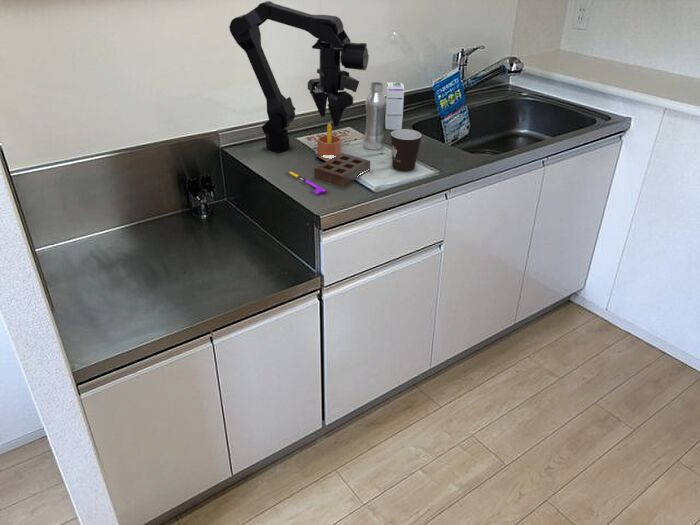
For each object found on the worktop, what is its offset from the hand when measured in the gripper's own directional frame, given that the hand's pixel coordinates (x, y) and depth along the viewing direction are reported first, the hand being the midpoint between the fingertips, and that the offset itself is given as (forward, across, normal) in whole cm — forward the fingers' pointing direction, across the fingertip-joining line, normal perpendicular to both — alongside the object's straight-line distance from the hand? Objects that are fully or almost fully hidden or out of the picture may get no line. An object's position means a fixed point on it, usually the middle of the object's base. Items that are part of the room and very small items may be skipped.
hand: (329, 121), depth 163 cm
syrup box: (+11, +16, -31) cm, 37 cm away
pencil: (+10, 0, 0) cm, 10 cm away
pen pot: (+11, 0, 0) cm, 11 cm away
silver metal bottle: (+11, +1, -16) cm, 19 cm away
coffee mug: (+11, -14, -18) cm, 25 cm away
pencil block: (+11, -14, +2) cm, 18 cm away
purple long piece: (+11, -15, +14) cm, 23 cm away
